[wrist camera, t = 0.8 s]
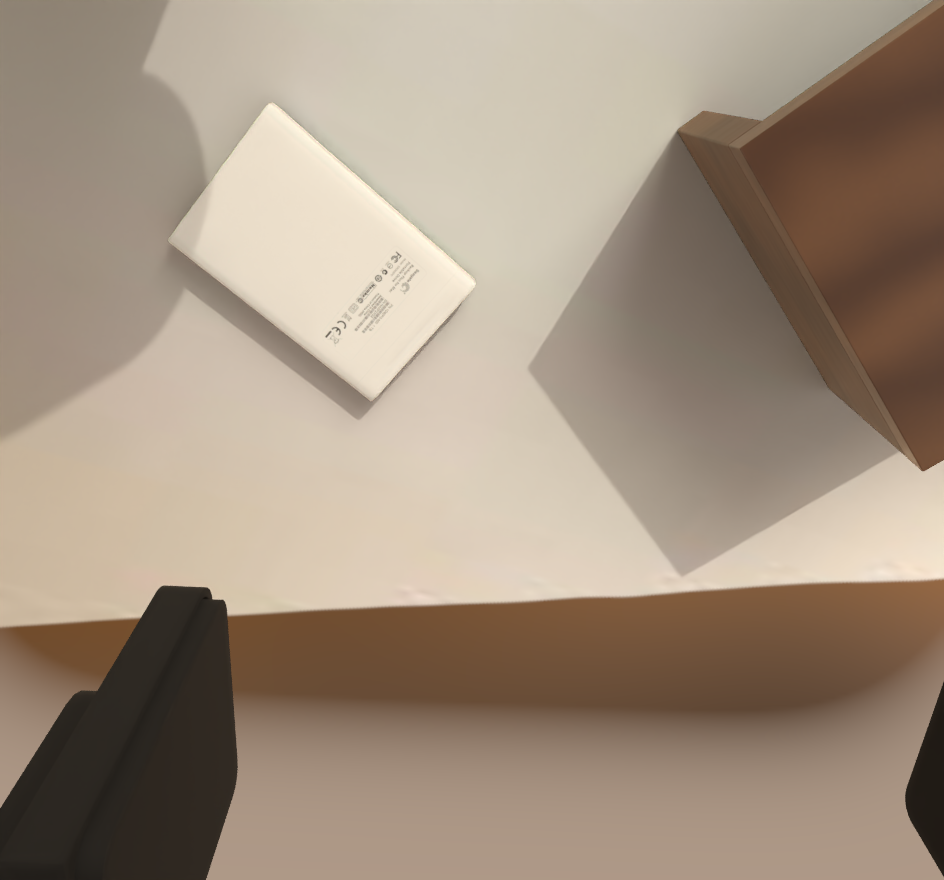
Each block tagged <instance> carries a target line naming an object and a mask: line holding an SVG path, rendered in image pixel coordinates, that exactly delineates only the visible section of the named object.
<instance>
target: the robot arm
mask: <svg viewBox="0 0 944 880" xmlns="http://www.w3.org/2000/svg"><path fill="white" fill-rule="evenodd" d="M237 768H238V766H237V748H236V734H235V720H234V706H233V691H232V677H231V663H230V649H229V634H228V620H227V608H226V604H225V601H223V600H212V594H211V592H210V590H209V589H208V588H205V587H183V586H162V587H160V588H159V589H158V591H157V592H156V594H155V595H154V597H153V599H152V600H151V602H150V604H149V605H148V607H147V609H146V610H145V612H144V614H143V615H142V617H141V619H140V621H139V622H138V624H137V626H136V627H135V629H134V631H133V632H132V634H131V636H130V637H129V639H128V641H127V642H126V644H125V646H124V647H123V649H122V651H121V653H120V654H119V656H118V658H117V659H116V661H115V662H114V664H113V666H112V668H111V669H110V671H109V672H108V674H107V676H106V678H105V679H104V681H103V683H102V684H101V686H100V688H99V689H98V691H80V692H78V693H76V694H74V695H73V697H72V698H71V699H70V700H69V702H68V703H67V704H66V705H65V707H64V709H63V710H62V712H61V713H60V715H59V717H58V718H57V720H56V721H55V723H54V724H53V726H52V728H51V729H50V731H49V732H48V734H47V735H46V737H45V739H44V740H43V742H42V743H41V745H40V747H39V748H38V750H37V751H36V753H35V755H34V756H33V758H32V759H31V761H30V762H29V764H28V765H27V767H26V769H25V771H24V772H23V773H22V775H21V777H20V778H19V780H18V781H17V783H16V785H15V786H14V788H13V789H12V791H11V792H10V794H9V796H8V797H7V799H6V800H5V802H4V803H3V805H2V807H1V808H0V880H206V878H207V875H208V872H209V868H210V865H211V862H212V859H213V856H214V853H215V850H216V847H217V844H218V840H219V838H220V834H221V831H222V828H223V825H224V822H225V819H226V816H227V813H228V809H229V807H230V804H231V800H232V797H233V794H234V790H235V785H236V779H237ZM905 802H906V809H907V812H908V816H909V818H910V820H911V822H912V824H913V825H914V827H915V829H916V831H917V832H918V834H919V836H920V837H921V839H922V841H923V842H924V844H925V846H926V847H927V849H928V851H929V853H930V854H931V856H932V858H933V859H934V861H935V863H936V864H937V866H938V868H939V869H940V871H941V873H942V875H943V876H944V683H943V686H942V689H941V691H940V694H939V697H938V700H937V703H936V706H935V708H934V711H933V714H932V717H931V720H930V723H929V726H928V728H927V731H926V734H925V737H924V740H923V743H922V746H921V748H920V751H919V754H918V757H917V760H916V763H915V766H914V768H913V771H912V774H911V777H910V780H909V783H908V786H907V789H906V795H905Z"/></svg>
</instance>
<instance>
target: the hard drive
mask: <svg viewBox="0 0 944 880" xmlns="http://www.w3.org/2000/svg"><path fill="white" fill-rule="evenodd" d="M168 242H169V243H170V244H171V245H173V246H174V247H175V248H177V249H178V250H179V251H180V252H182V253H183V254H184V255H185V256H187V257H188V258H189V259H190V260H192V261H193V262H194V263H196V264H197V265H198V266H199V267H201V268H202V269H203V270H205V271H206V272H207V273H208V274H210V275H211V276H212V277H214V278H215V279H216V280H217V281H219V282H220V283H221V284H222V285H224V286H225V287H226V288H228V289H229V290H230V291H231V292H233V293H234V294H235V295H236V296H238V297H239V298H240V299H241V300H243V301H244V302H245V303H247V304H248V305H249V306H250V307H252V308H253V309H254V310H255V311H257V312H258V313H259V314H261V315H262V316H263V317H264V318H266V319H267V320H268V321H269V322H271V323H272V324H273V325H274V326H276V327H277V328H278V329H279V330H281V331H282V332H283V333H285V334H286V335H287V336H288V337H290V338H291V339H292V340H293V341H295V342H296V343H297V344H299V345H300V346H301V347H302V348H304V349H305V350H306V351H307V352H309V353H310V354H311V355H312V356H314V357H315V358H316V359H318V360H319V361H320V362H321V363H323V364H324V365H325V366H326V367H328V368H329V369H330V370H331V371H333V372H334V373H335V374H337V375H338V376H339V377H340V378H342V379H343V380H344V381H346V382H347V383H348V384H349V385H351V386H352V387H353V388H354V389H356V390H357V391H358V392H359V393H361V394H362V395H363V396H364V397H366V398H367V399H368V400H369V401H371V402H372V401H373V400H374V399H375V398H376V397H377V396H378V395H379V394H380V393H381V392H382V391H383V389H384V388H385V387H386V386H387V385H388V384H389V383H390V382H391V380H392V379H393V378H394V377H395V376H396V375H397V374H398V372H399V371H400V370H401V369H402V368H403V367H404V366H405V365H406V363H407V362H408V361H409V360H410V359H411V358H412V357H413V356H414V355H415V353H416V352H417V351H418V350H419V349H420V348H421V347H422V346H423V345H424V344H425V342H426V341H427V340H428V339H429V338H430V337H431V336H432V335H433V334H434V332H435V331H436V330H437V329H438V328H439V327H440V326H441V325H442V324H443V323H444V321H445V320H446V319H447V318H448V317H449V316H450V315H451V314H452V312H453V311H454V310H455V309H456V308H457V307H458V306H459V305H460V304H461V302H462V301H463V300H464V299H465V298H466V297H467V296H468V295H469V294H470V292H471V291H472V290H473V289H474V287H475V286H476V282H475V279H474V278H473V277H472V276H470V275H469V274H468V273H467V272H466V271H465V270H464V269H463V268H461V267H460V266H459V265H458V264H457V263H456V262H455V261H454V260H453V259H451V258H450V257H449V256H448V255H447V254H446V253H444V252H443V251H442V250H441V249H440V248H439V247H438V246H437V245H435V244H434V243H433V242H432V241H431V240H430V239H429V238H427V237H426V236H425V235H424V234H423V233H422V232H421V231H420V230H418V229H417V228H416V227H415V226H414V225H413V224H412V223H410V222H409V221H408V220H407V219H406V218H405V217H404V216H402V215H401V214H400V213H399V212H398V211H397V210H396V209H394V208H393V207H392V206H391V205H390V204H389V203H388V202H387V201H385V200H384V199H383V198H382V197H381V196H380V195H378V194H377V193H376V192H375V191H374V190H373V189H372V188H370V187H369V186H368V185H367V184H366V183H365V182H364V181H362V180H361V179H360V178H359V177H358V176H357V175H356V174H355V173H353V172H352V171H351V170H350V169H349V168H348V167H346V166H345V165H344V164H343V163H342V162H341V161H340V160H338V159H337V158H336V157H335V156H334V155H333V154H332V153H330V152H329V151H328V150H327V149H326V148H325V147H324V146H323V145H321V144H320V143H319V142H318V141H317V140H316V139H314V138H313V137H312V136H311V135H310V134H309V133H308V132H307V131H306V130H305V129H303V128H302V127H301V126H300V125H299V124H298V123H297V122H295V121H294V120H293V119H292V118H291V117H290V116H289V115H287V114H286V113H285V112H284V111H283V110H282V109H281V108H279V107H278V106H277V105H276V104H274V103H269V104H268V105H267V106H266V107H265V108H264V109H263V111H262V112H261V113H260V115H259V116H258V117H257V119H256V120H255V122H254V123H253V124H252V126H251V127H250V128H249V130H248V131H247V132H246V134H245V135H244V137H243V138H242V139H241V141H240V142H239V143H238V145H237V146H236V147H235V149H234V150H233V151H232V153H231V154H230V156H229V157H228V158H227V160H226V161H225V162H224V164H223V165H222V166H221V168H220V169H219V170H218V172H217V173H216V174H215V176H214V177H213V179H212V180H211V181H210V183H209V184H208V185H207V186H206V188H205V189H204V191H203V192H202V194H201V195H200V196H199V197H198V199H197V200H196V202H195V203H194V204H193V205H192V207H191V208H190V210H189V211H188V212H187V214H186V215H185V216H184V218H183V219H182V220H181V222H180V223H179V225H178V226H177V227H176V229H175V230H174V232H173V233H172V234H171V236H170V237H169V238H168Z"/></svg>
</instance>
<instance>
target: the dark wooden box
mask: <svg viewBox="0 0 944 880" xmlns="http://www.w3.org/2000/svg"><path fill="white" fill-rule="evenodd" d="M677 131H678V133H679V135H680V137H681V138H682V140H683V142H684V143H685V145H686V147H687V149H688V150H689V152H690V154H691V155H692V157H693V159H694V160H695V162H696V164H697V165H698V167H699V169H700V171H701V172H702V174H703V176H704V177H705V179H706V181H707V182H708V184H709V186H710V187H711V189H712V191H713V193H714V194H715V196H716V198H717V199H718V201H719V203H720V204H721V206H722V208H723V210H724V211H725V213H726V215H727V216H728V218H729V220H730V221H731V223H732V225H733V226H734V228H735V230H736V232H737V233H738V235H739V237H740V238H741V240H742V242H743V243H744V245H745V247H746V248H747V250H748V252H749V254H750V255H751V257H752V259H753V260H754V262H755V264H756V265H757V267H758V269H759V270H760V272H761V274H762V276H763V277H764V279H765V281H766V282H767V284H768V286H769V287H770V289H771V291H772V292H773V294H774V296H775V298H776V299H777V301H778V303H779V304H780V306H781V308H782V309H783V311H784V313H785V315H786V316H787V318H788V320H789V321H790V323H791V325H792V326H793V328H794V330H795V331H796V333H797V335H798V337H799V338H800V340H801V342H802V343H803V345H804V347H805V348H806V350H807V352H808V353H809V355H810V357H811V359H812V360H813V362H814V364H815V365H816V367H817V369H818V370H819V372H820V374H821V375H822V377H823V379H824V381H825V382H826V384H827V386H828V387H829V389H830V390H831V391H832V392H833V393H835V394H836V395H837V396H838V397H839V398H840V399H841V400H843V401H844V402H845V403H846V404H847V405H848V406H849V407H850V408H852V409H853V410H854V411H855V412H856V413H857V414H858V415H860V416H861V417H862V418H863V419H864V420H865V421H866V422H867V423H869V424H870V425H871V426H872V427H873V428H874V429H875V430H876V431H878V432H879V433H880V434H881V435H882V436H883V437H884V438H886V439H887V440H888V441H889V442H890V443H891V444H892V445H893V446H895V447H896V448H897V449H898V450H899V451H900V452H901V453H903V454H904V455H905V456H906V457H907V458H908V459H909V460H910V461H911V462H912V463H913V464H915V465H916V466H917V467H918V468H919V469H920V470H921V471H925V470H927V469H929V468H930V467H932V466H934V465H936V464H937V463H939V462H941V461H943V460H944V0H933V1H932V2H930V3H929V4H928V5H926V6H925V7H923V8H922V9H920V10H919V11H918V12H916V13H915V14H913V15H912V16H911V17H909V18H908V19H906V20H905V21H903V22H902V23H901V24H899V25H898V26H896V27H895V28H894V29H892V30H891V31H889V32H888V33H886V34H885V35H884V36H882V37H881V38H879V39H878V40H877V41H875V42H874V43H872V44H871V45H869V46H868V47H867V48H865V49H864V50H862V51H861V52H860V53H858V54H857V55H855V56H854V57H852V58H851V59H850V60H848V61H847V62H845V63H844V64H843V65H841V66H840V67H838V68H837V69H835V70H834V71H833V72H831V73H830V74H828V75H827V76H826V77H824V78H823V79H821V80H820V81H818V82H817V83H816V84H814V85H813V86H811V87H810V88H809V89H807V90H806V91H804V92H803V93H801V94H800V95H799V96H797V97H796V98H794V99H793V100H792V101H790V102H789V103H787V104H786V105H784V106H783V107H782V108H780V109H779V110H777V111H776V112H775V113H773V114H772V115H770V116H769V117H767V118H766V119H765V120H763V121H759V120H753V119H748V118H742V117H736V116H731V115H725V114H720V113H714V112H708V111H703V112H701V113H700V114H698V115H697V116H696V117H694V118H693V119H692V120H690V121H689V122H687V123H686V124H685V125H683V126H682V127H680V128H679V129H678V130H677Z"/></svg>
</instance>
